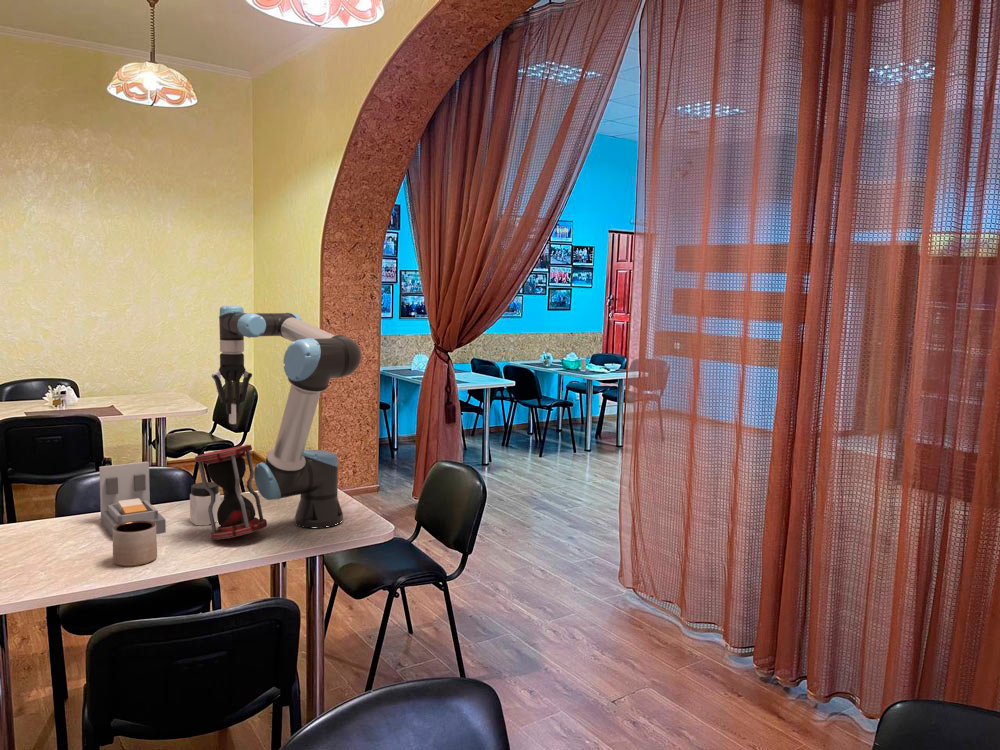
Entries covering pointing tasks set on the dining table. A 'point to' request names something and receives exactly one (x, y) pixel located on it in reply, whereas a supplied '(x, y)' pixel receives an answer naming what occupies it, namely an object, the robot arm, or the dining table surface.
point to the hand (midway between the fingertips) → (232, 423)
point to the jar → (203, 503)
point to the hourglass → (231, 492)
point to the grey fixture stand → (126, 495)
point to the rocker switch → (131, 506)
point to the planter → (134, 543)
